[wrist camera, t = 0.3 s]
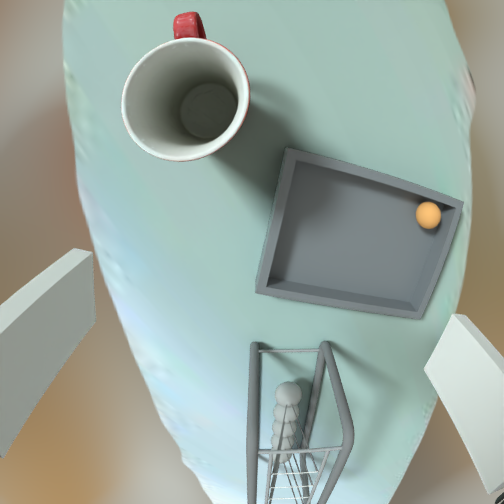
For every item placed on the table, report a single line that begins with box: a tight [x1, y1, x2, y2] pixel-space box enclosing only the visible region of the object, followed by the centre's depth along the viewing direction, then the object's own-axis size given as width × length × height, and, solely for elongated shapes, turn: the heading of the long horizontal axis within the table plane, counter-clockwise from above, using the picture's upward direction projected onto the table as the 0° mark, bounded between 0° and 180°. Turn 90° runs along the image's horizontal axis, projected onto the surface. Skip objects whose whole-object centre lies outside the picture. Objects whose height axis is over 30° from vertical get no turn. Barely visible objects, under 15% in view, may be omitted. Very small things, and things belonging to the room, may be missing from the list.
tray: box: [255, 147, 464, 319], centre depth 34 cm, size 16×22×3 cm
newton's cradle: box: [246, 341, 354, 504], centre depth 38 cm, size 30×10×18 cm, turn 0°
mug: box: [121, 12, 250, 162], centre depth 24 cm, size 13×9×14 cm
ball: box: [416, 202, 441, 229], centre depth 32 cm, size 3×3×3 cm
